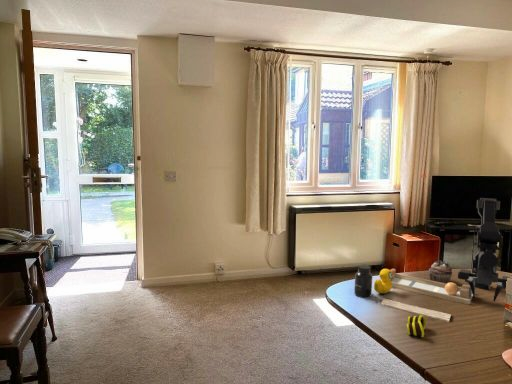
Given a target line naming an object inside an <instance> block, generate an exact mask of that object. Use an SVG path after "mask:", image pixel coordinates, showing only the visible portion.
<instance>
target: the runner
mask: <svg viewBox="0 0 512 384" xmlns="http://www.w3.org/2000/svg"><path fill="white" fill-rule="evenodd" d="M391 282H394V283H398V284H403V285H407V286H412V287H416V288H421V289H425V290H429V291H434V292H438V293H443V294H447V295H451V294H448V293H447V292H446V291H445V288H442V287H437V286H433V285H428V284H423V283H419V282H414V281H409V280H405V279H400V278H394V279H393V280H392V281H391ZM452 296H456V297H460V291H458V292H457V293H456V294H454V295H452ZM473 298H474V297H473V294H472V295H471V297H470V303H471V302H472V299H473Z"/></svg>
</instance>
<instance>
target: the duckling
mask: <svg viewBox="0 0 512 384" xmlns="http://www.w3.org/2000/svg"><path fill="white" fill-rule="evenodd" d="M390 270H391V269H388V268H383V269H381V270H380V272H379V278H377V279H375V280H374V285H373V286H374V287H373V288H374V290H375V292H376V293H379V294H386V293H389V292H390V291H391V290H392V288H393V287H392V282H391V281H390V280H391V278H392V276H393V275H394V270H391V271H390Z"/></svg>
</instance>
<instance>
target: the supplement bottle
mask: <svg viewBox="0 0 512 384" xmlns="http://www.w3.org/2000/svg"><path fill="white" fill-rule="evenodd" d="M372 289H373V274H372V273H371V266H369V265H366V264H361V265H358V267H357V272H356V273H355V274H354V290H353V291H354V295H356V296H357V297H359V298H364V297H365V298H366V297H367V298H370V297H371V295H372V292H373V291H372ZM365 298H364V299H365Z"/></svg>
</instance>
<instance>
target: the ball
mask: <svg viewBox="0 0 512 384" xmlns="http://www.w3.org/2000/svg"><path fill="white" fill-rule="evenodd" d="M445 291H446V292H447V293H448V294H451V295H454V294H456V293H457V292H458V284H456V283H454V282H452V281H450V282H449V283H447V284H446V285H445Z"/></svg>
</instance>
